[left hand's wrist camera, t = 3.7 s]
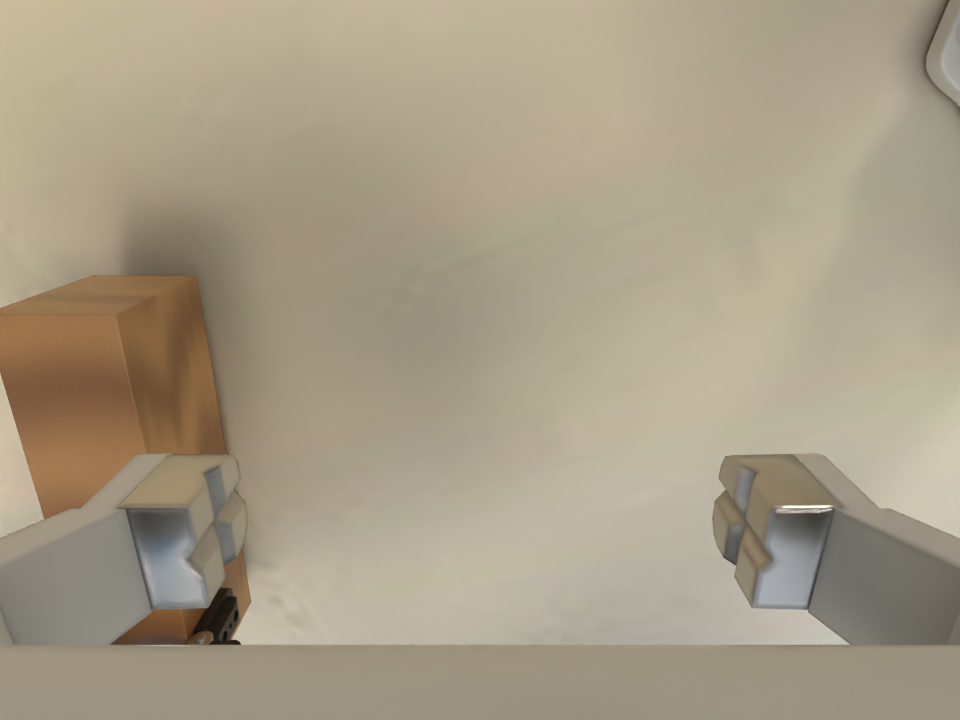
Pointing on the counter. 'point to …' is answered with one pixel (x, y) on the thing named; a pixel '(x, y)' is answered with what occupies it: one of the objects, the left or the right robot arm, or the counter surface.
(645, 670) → the left robot arm
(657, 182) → the counter surface
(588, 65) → the counter surface
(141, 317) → the bar
